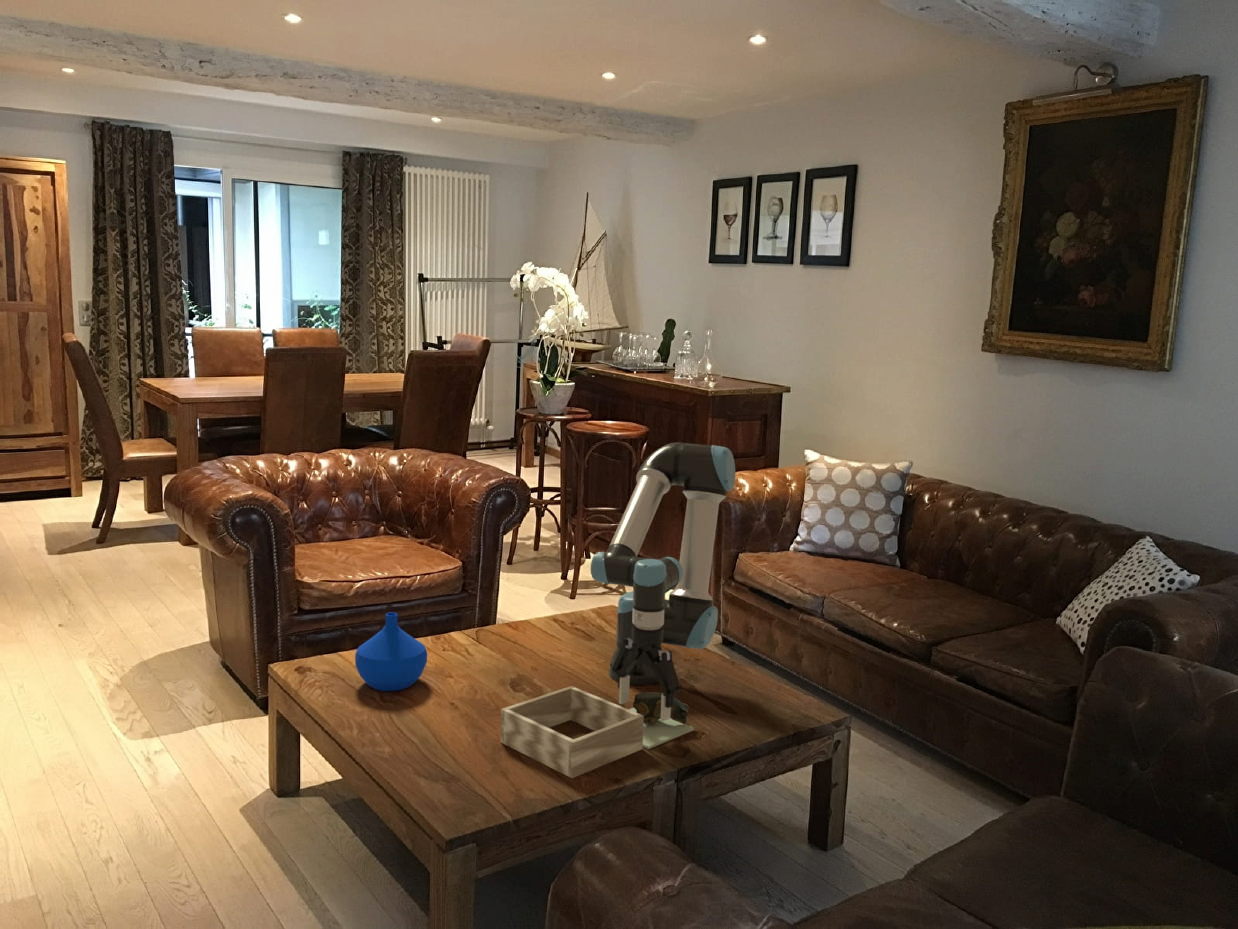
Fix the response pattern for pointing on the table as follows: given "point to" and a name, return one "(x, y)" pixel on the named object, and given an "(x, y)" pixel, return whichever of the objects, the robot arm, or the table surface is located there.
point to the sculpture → (658, 707)
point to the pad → (662, 731)
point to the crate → (570, 757)
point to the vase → (391, 658)
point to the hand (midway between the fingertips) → (644, 710)
